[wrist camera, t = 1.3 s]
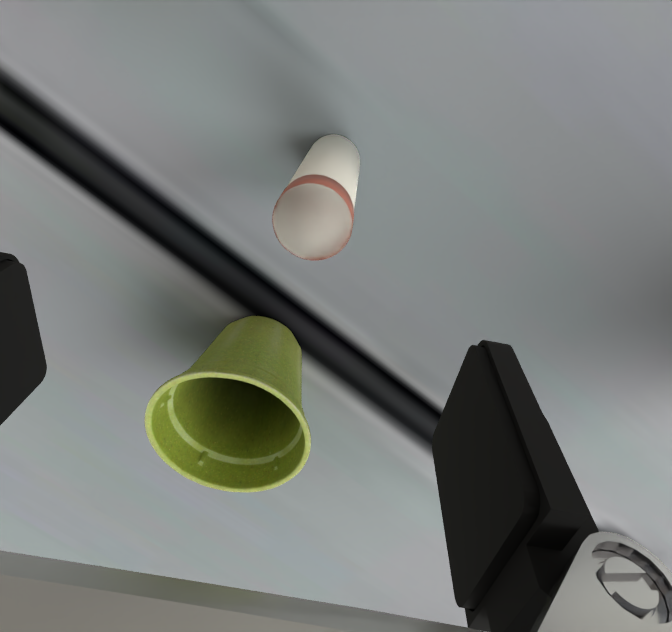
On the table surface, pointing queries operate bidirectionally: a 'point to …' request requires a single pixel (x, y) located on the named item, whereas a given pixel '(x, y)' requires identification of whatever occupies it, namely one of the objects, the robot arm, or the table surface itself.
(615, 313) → the table surface
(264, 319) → the plant pot
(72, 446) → the table surface
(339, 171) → the pink-tipped cream rod
